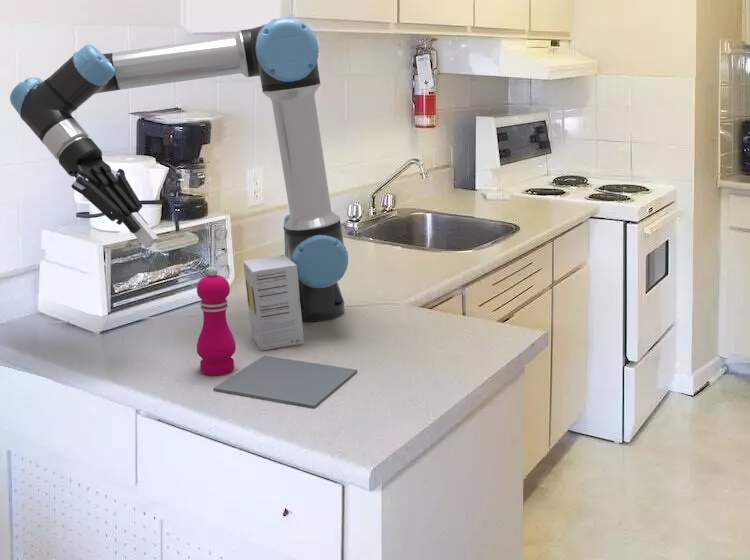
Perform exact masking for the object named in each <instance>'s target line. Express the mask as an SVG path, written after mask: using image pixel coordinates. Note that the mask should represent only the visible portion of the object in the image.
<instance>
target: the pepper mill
mask: <svg viewBox="0 0 750 560" xmlns="http://www.w3.org/2000/svg"><path fill="white" fill-rule="evenodd" d="M229 283H230V282H229V281H228V279H226V278H225V277H224V276H222V275H219V274H218V269H217V268H216V267H214V266H211V267H209V268H208V269H207V275H205V276H203V277H202V278H200V280H199V281H198V283H197V285H196V294H197V296H198V298H199V299H200V300H201V301H200V302H199V304H200V310H201V311H202V313H203V324H202V328H201V330H200V334H199V336H198V338H197V343H196V352H197V353H196V354H197V355H198V356H199V357H200V358H201V360H200V361H199V362H200V364H199V367H200V372H201V373H202V374H204V375H207V376H221V375H227V374H230V373H231V372H233V371H234V369H235V361H234V358H233V357H232V356H234V354H235V352H236V349H237V347H236V340H235V338H234V336H233V333H232V332H231V329H230V327H229V325H228V322H227V314H226V313H227V309H228V307H229V306H228V303H229V301H228V300H227V298H228V296H229V295H230V291H231V287H230V284H229Z"/></svg>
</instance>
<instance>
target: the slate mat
mask: <svg viewBox="0 0 750 560" xmlns="http://www.w3.org/2000/svg"><path fill="white" fill-rule="evenodd" d="M357 373H358V369H354V368H348V367H341V366H336V365H335V366H334V365H328V364H322V363H318V362H317V363H315V362H309V361H304V360H303V361H302V360H297V359H296V360H295V359H290V358H284V357H277V356H271V355H263V356H261V357H258V359H256V360H255V361H253V362H251V363H250V364H248V365H246V366H245V367H243V368H242V369H240V370H238V371H237V372H236V373H234V374H233V375H231V376H230V377H228V378H227V379H225V380H224V381H222V382H221V383H219V384H217V385H216V386H214V387H213V391H214V392H218V393H219V392H220V393H225V394H232V395H236V396H242V397H246V398H247V397H248V398H253V399H260V400H265V401H270V402H276V403H282V404H286V405H287V404H288V405H292V406H298V407H305V408H309V409H316V408H317V407H318V406H319V405H321V403H323V402H324V401H325V400H326V399H328V398H329V397H330V396H331V395H333V393H334V392H336V391H337V390H338V389H340V388H341V387H342V386H343V385H344V384H346V382H348V381H349V380H350V379H351V378H352V377H353V376H355V375H356V374H357Z"/></svg>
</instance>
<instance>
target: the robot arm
mask: <svg viewBox="0 0 750 560" xmlns="http://www.w3.org/2000/svg"><path fill="white" fill-rule="evenodd" d="M319 50H320V48H319V44H318V40H317V37H316V35H315V34H314V33H313V31H312V30H311V28H310V27H309V26H308V25H307V24H306V23H304V22H303V21H301V20H299V19H297V18H293V17H290V16H289V17H279V18H273V19H272V20H270V21H268V22H267V23H264V24H263V25H260V26H257V27H252V28H249V29H241V30H238V31H237V32H236V34H235V35H234V36H228V37H219V38H211V39H204V40H197V41H189V42H182V43H175V44H166V45H159V46H153V47H145V48H139V49H138V48H137V49H130V50H124V51H122V50H121V51H114V52H109V53H102V52H101V51H100V50H99V49H98V48H97V47H96V46H94V45H93V44H90V43H89V44H86V45H84V46H83V47H82V48H80V49H79V50H78V51H76V52H74V53H73V54H72V56H71V57H70V58H68V59H67V60H66V61H65V62H64V63H63V64H62V65H61V66H60V67H59V68H58V69H56V70H55V71H54V72H53V73H52V74H51V75H50V76H49V77H47V78H46V79H44V80H42V79H41V78H40V77H36V76H35V77H33V76H32V77H28V78H25V80H24V81H21V82H18V83H17V85H15V86H14V88H13V89H12V90H11V93H10V96H9V101H10V104H11V106H12V107H13V108H14V109H15V111H16V112H17V113H18V115H19V117H20V119H21V120H22V121H23V122H24V123H25V124H26V125H27V126H28V127H29V129H30V130H31V131H32V132H33V133H34V135H35V136H36V137H37V138H38V139H39V140H40V141H41V143H42V144H43V145H44V146H45V147H46V149H47V150H48V151H49V152H50V153H51V154H52V156H53V157H54V158H55V159H56V160H57V161H58V163H59V165H60V166H61V167H62V168H63V170H64V171H65V172H66V174H68V176H70V177H74V178H75V181H74V182H73V183H72V184H71V188H72V190H74V191H76V192H77V193H79V194H81V195H82V196H83V197H85V198H86V200H88V201H89V202H90V203H91V204H92V205H93V206H94V207H96V209H98V210H99V211H100V212H101V213H102V214H103V215H104V216H105V217H107V219H109V220H110V221H111V222H115V221H116V222H115V223H116V224H117V225H120V226H121V225H122V224H123V225H125V227H126V228H127V229H128V230H129V232H130V233H132V234H133V235H134V236H135V238H136V239H137V241H139V242H140V243H141V245H142V246H143V247H144V248H145V249H149V248H151V247H152V246H153V245H154V244H155V242H156V241H158V239H159V236H157V234H156V233H155V232H154V231H153V230H152V228H151V227H150V226H149V224H148V222H147V221H146V220H145V219H144V217H143V216H142V215H141V214H140V211H141V209H142V208H143V205H142V203H141V201H140V200H139V198H138V196H137V194H136V193H135V191H134V189H133V187H132V186H131V185H130V182H129V181H128V180H127V178H126V173H125V171H124V170H123V169H122V168H119V169H118V170H114V169H112V168H111V166H110V165H109V164H108V163H106V161H104V159H103V152H102V150H101V148H99V146H98V145H97V144H96V142H94V140H93V139H92V138H90V136H89V134H88V133H87V131H86V130H85V129H84V128H83V127H82V126H81V125H80V124H79V123H78V121H77V120H76V118H74V117H73V116H72V114H73V113H74V112H75V111H76V110H78V108H79V107H81V106H82V105H84V103H86V101H87V100H89V99H90V98H91V97H92V96H94V95H96V94H101V93H107V92H108V93H109V92H116V91H120V90H128V89H134V88H144V87H149V86H151V87H152V86H157V85H158V86H159V85H164V84H172V83H173V84H174V83H178V82H179V83H180V82H186V81H188V82H189V81H194V80H202V79H209V78H217V77H223V76H230V75H237V74H238V75H240V74H242V75H243V76H244V77H246V78H252V77H259V79H260V84H261V89H262V93H263V95H265V96H266V97H268V98H269V99H270V100H271V104H272V110H273V116H274V124H275V129H276V135H277V141H278V142H277V143H278V147H279V148H278V149H279V154H280V160H281V165H282V173H283V178H284V185H285V190H286V191H285V193H286V198H287V202H288V203H287V204H288V209H289V210H288V211H289V214H288V215H286V216H285V217H284V221H283V227H282V229H283V230H284V232H283V233H284V234H283V235H284V255H286V256H287V257H288V258H289V259H290V260H291V261H292V262H293V263H295V264H296V265H297V272H298V283H299V296H300V306H301V316H302V322H317V321H318V322H319V321H326V320H327V321H328V320H331V319H335V318H338V317H340V316H342V315H343V314H344V313H345V301H344V297H343V295H342V291H341V288H340V286H339V281H340V280H341V279H342V278H343V277H344V275H345V274H346V272H347V269H348V266H349V252H348V250H347V247H346V246H345V244H344V237H343V231H342V230H343V229H342V224H341V218H340V216H339V215H338V214H336V213H335V212H333V211H332V205H331V200H330V192H329V187H328V186H329V184H328V181H327V180H328V179H327V172H326V171H327V170H326V166H325V165H326V164H325V158H324V151H323V145H322V138H321V131H320V125H319V123H320V122H319V118H318V110H317V103H316V97H315V94H316V92H317V91H318V89H319V88H320V86H321V77H320V73H319V72H320V71H319V65H318V61H319V60H318V59H319V52H320V51H319Z"/></svg>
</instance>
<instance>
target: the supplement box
mask: <svg viewBox="0 0 750 560" xmlns="http://www.w3.org/2000/svg"><path fill="white" fill-rule="evenodd" d="M242 262H243V271H244V278H245V287H246V288H245V289H246V297H247V305H248V307H247V308H248V316H249V325H250V332H251V337H252V339H253V340H254V342H255V343H256V345H257V346H258V348H259V350H260V351H261V352H263V351H269V350H273V349H278V348H284V347H288V346H294V345H299V344H300V345H301V344H304V343H305V337H304V330H303V328H304V327H303V321H302V316H301V306H300V296H299V283H298V272H297V265H296V264H295V263H293V262H292V261H291V260H290V259H289V258H288V257H287V256H286V255H285V254H281V255H280V254H279V255H273V256H268V257H261V258H260V257H259V258H254V259H253V258H252V259H246V260H243V261H242Z"/></svg>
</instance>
